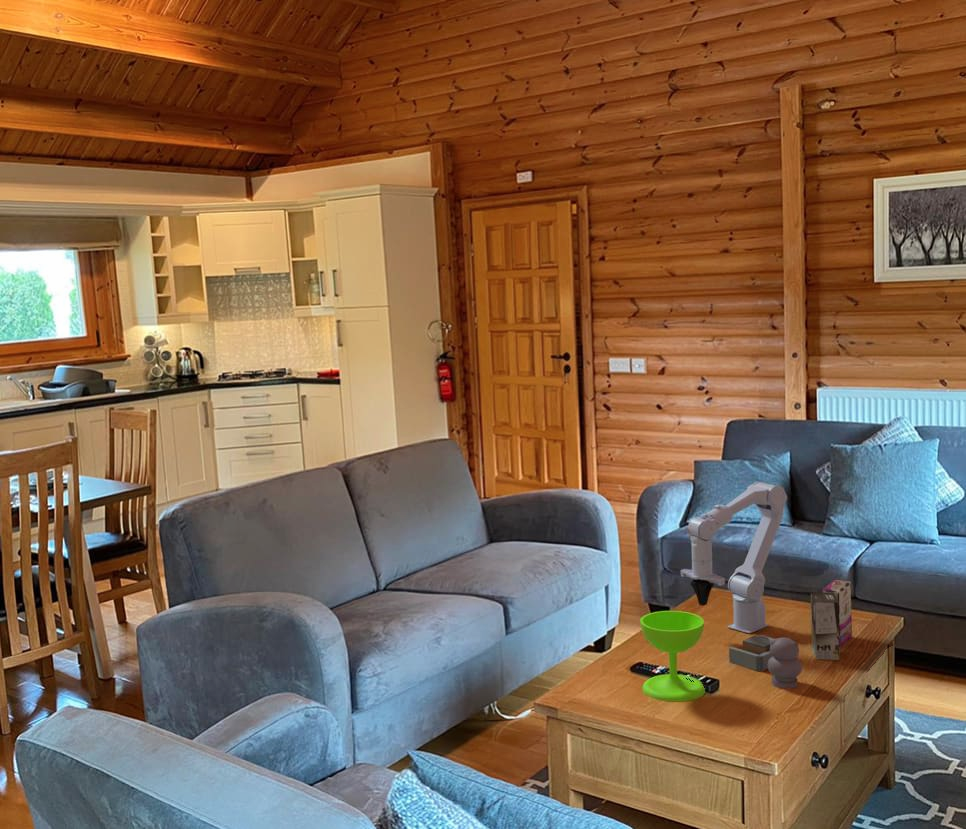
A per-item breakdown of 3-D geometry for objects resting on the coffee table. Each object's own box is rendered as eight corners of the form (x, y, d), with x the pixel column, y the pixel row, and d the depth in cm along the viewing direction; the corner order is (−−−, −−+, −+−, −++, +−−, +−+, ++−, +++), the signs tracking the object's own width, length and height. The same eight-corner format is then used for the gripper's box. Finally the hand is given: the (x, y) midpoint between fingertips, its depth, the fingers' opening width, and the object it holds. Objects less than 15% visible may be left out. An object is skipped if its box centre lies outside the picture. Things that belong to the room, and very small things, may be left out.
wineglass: (630, 683, 252) (628, 616, 250) (683, 672, 258) (681, 607, 256) (663, 706, 237) (660, 635, 235) (718, 694, 243) (716, 624, 241)
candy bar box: (834, 633, 281) (834, 578, 279) (852, 636, 278) (852, 581, 276) (822, 645, 272) (821, 589, 270) (840, 648, 269) (839, 591, 267)
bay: (760, 648, 272) (760, 634, 272) (791, 657, 265) (791, 643, 264) (729, 662, 263) (728, 647, 263) (760, 671, 256) (760, 657, 255)
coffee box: (840, 660, 261) (839, 602, 259) (815, 659, 262) (814, 602, 260) (835, 648, 270) (834, 592, 268) (810, 647, 271) (810, 591, 269)
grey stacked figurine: (805, 680, 248) (805, 635, 247) (798, 692, 242) (798, 645, 240) (772, 675, 253) (771, 631, 251) (764, 686, 246) (763, 641, 245)
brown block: (755, 654, 269) (754, 635, 268) (776, 660, 263) (776, 641, 262) (742, 659, 265) (742, 640, 265) (764, 666, 260) (764, 646, 259)
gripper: (673, 557, 284) (674, 602, 285) (713, 566, 272) (714, 613, 274) (688, 552, 288) (690, 597, 290) (729, 561, 277) (730, 607, 278)
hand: (703, 604), depth 282 cm, fingers closed
